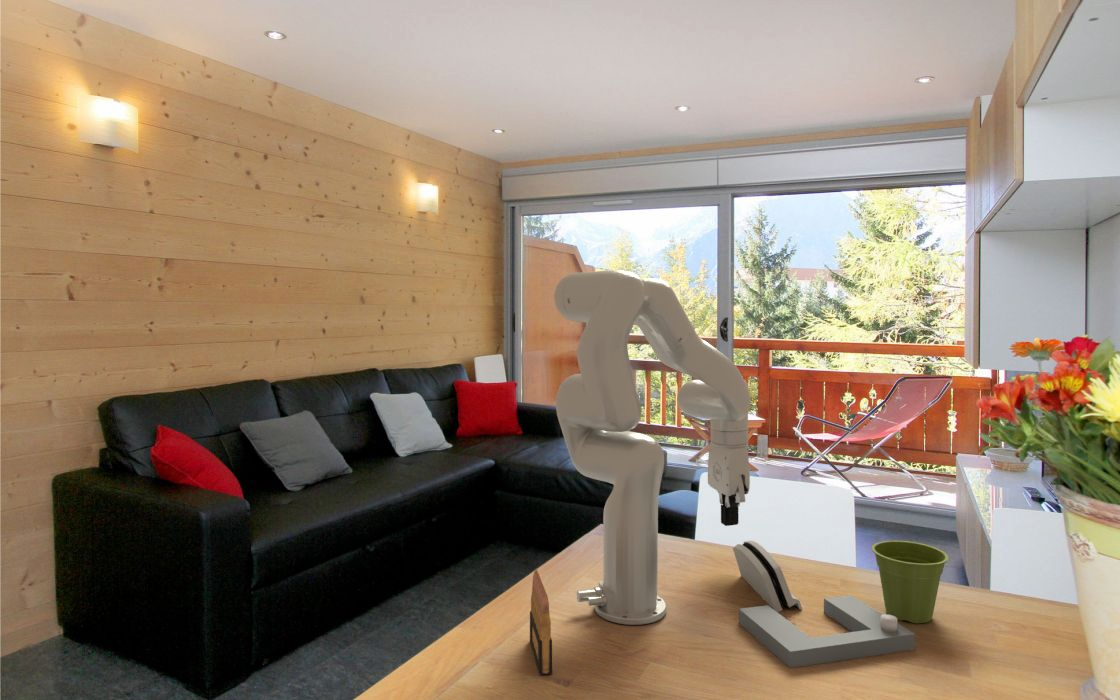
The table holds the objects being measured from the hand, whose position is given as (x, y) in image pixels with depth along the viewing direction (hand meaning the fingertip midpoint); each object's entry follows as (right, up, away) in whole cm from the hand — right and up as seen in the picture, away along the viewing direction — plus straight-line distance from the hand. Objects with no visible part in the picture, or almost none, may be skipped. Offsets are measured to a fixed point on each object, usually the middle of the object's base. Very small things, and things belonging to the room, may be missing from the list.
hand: (729, 523), depth 141 cm
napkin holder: (-38, -11, -38) cm, 55 cm away
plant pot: (+25, -10, -23) cm, 36 cm away
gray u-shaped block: (+7, -10, -31) cm, 33 cm away
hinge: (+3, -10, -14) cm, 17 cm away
